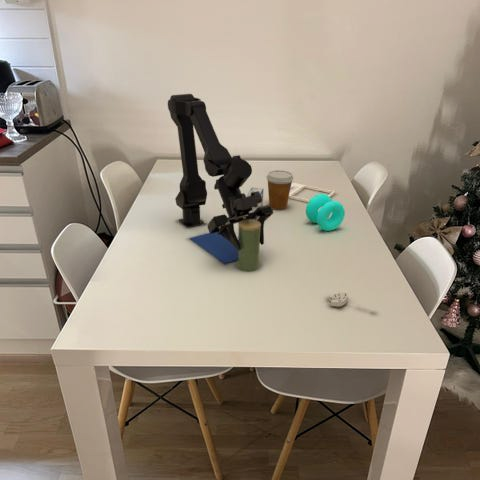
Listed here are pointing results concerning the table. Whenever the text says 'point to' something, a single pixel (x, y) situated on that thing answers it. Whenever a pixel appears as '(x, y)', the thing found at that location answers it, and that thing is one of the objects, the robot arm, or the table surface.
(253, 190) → the medicine box
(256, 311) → the table surface
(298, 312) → the table surface
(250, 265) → the tea tin
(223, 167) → the robot arm
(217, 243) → the blue mat
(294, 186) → the photo frame
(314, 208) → the donuts
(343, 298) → the game controller
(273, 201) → the disposable coffee cup
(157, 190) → the table surface
